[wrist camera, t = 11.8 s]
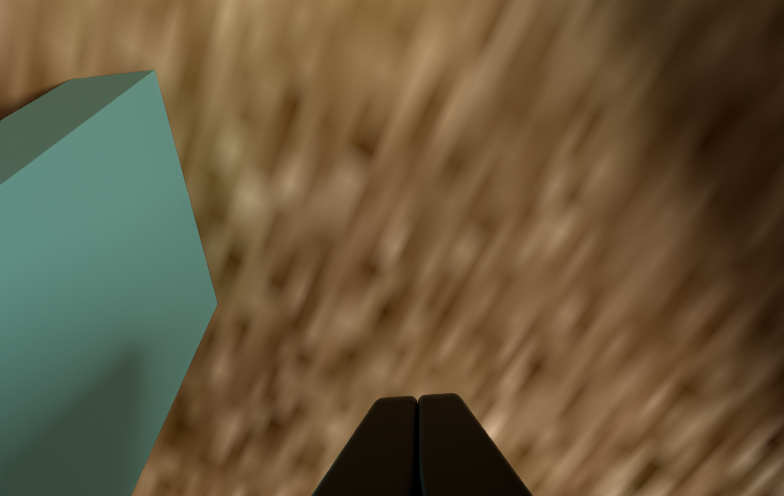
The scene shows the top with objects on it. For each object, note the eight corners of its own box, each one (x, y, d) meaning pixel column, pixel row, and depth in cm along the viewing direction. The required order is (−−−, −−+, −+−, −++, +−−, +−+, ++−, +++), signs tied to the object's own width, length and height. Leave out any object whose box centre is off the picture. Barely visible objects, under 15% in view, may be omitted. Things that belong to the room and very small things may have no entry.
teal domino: (145, 310, 15) (-84, 683, 8) (70, 79, 13) (-339, 319, 6) (217, 303, 15) (49, 676, 8) (154, 69, 13) (-158, 302, 6)
